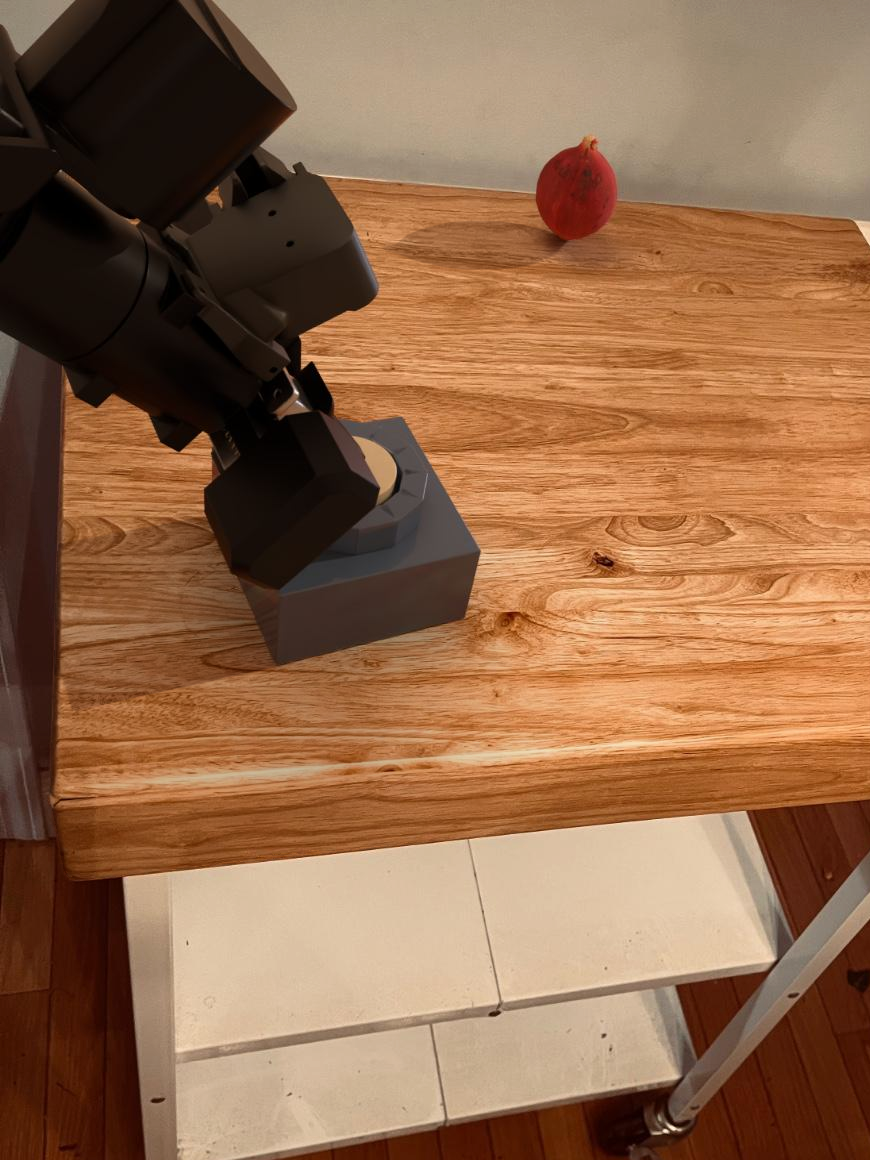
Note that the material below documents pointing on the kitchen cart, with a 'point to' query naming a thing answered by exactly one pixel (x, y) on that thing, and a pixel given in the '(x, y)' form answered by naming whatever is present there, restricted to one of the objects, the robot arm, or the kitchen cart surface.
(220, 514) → the robot arm
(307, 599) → the grey button base
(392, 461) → the tan push button
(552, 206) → the pomegranate
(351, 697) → the kitchen cart surface
